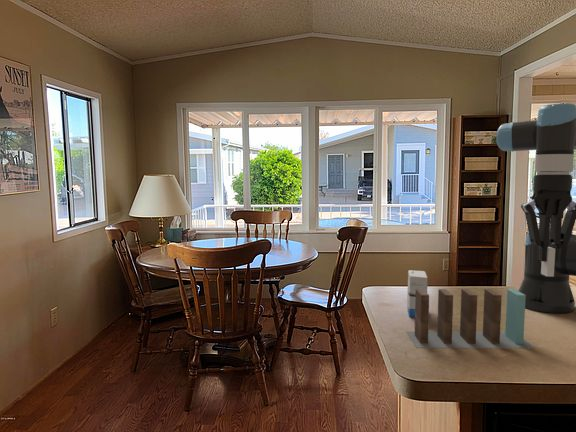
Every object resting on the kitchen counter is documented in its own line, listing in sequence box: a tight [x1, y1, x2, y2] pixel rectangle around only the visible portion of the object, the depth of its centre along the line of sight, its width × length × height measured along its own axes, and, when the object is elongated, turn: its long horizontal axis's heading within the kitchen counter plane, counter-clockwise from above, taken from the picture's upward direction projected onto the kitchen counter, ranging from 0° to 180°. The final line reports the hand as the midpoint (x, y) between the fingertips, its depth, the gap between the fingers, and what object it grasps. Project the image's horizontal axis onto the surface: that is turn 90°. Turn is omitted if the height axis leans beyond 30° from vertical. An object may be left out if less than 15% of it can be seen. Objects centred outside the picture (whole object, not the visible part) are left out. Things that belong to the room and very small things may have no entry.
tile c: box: [459, 288, 478, 344], centre depth 105 cm, size 2×5×12 cm, turn 178°
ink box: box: [406, 269, 428, 318], centre depth 125 cm, size 8×5×12 cm, turn 168°
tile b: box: [482, 288, 503, 344], centre depth 105 cm, size 2×5×12 cm, turn 178°
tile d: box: [436, 288, 454, 344], centre depth 105 cm, size 2×5×12 cm, turn 178°
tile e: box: [414, 289, 430, 344], centre depth 106 cm, size 2×5×12 cm, turn 178°
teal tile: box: [504, 288, 526, 344], centre depth 105 cm, size 2×5×12 cm, turn 178°
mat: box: [405, 331, 536, 349], centre depth 106 cm, size 27×10×1 cm, turn 88°
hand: (547, 275), depth 103 cm, fingers closed
